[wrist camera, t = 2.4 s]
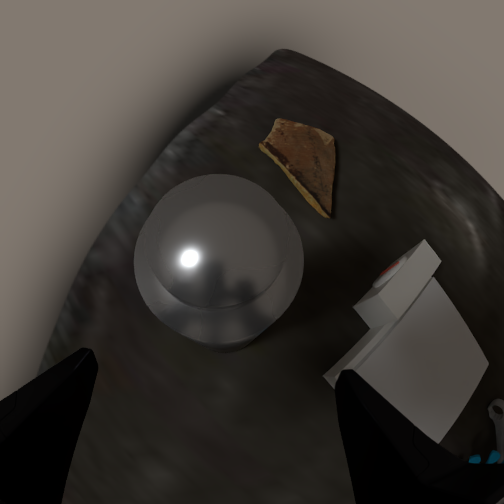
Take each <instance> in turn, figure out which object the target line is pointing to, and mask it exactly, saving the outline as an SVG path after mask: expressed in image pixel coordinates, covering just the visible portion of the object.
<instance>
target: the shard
mask: <svg viewBox="0 0 504 504" xmlns="http://www.w3.org/2000/svg"><path fill="white" fill-rule="evenodd" d="M259 147H260V149H261V150H262V152H264V153H266V154H267V155H268V156H269V157H271V158H272V159H273V160H274V162H275V163H276V164H278V165H279V166H280V167H281V169H282V170H283V171H284V172H285V173H286V175H287V176H288V178H289V179H290V181H291V182H292V183H293V184H294V185H295V187H297V189H298V190H299V192H300V193H301V194H302V195H303V196H304V198H305V199H306V200H307V201H308V202H309V203H310V204H311V205H312V206H313V207H314V208H315V209H316V210H317V211H318V212H319V213H320V214H321V215H322V216H324V217H326V218H327V217H328V218H331V204H332V195H331V193H332V184H333V180H334V167H335V147H334V138H333V137H332V136H331V135H329V134H327V133H325V132H323V131H322V130H320V129H318V128H314V127H311V126H308V125H304V124H300V123H296V122H292V121H289V120H285V119H281V118H280V119H276V121H275V123H274V126H273V129H272V131H271V133H270V134H269V136H268V137H267V138H266V140H264V141H262V142H261V143H260V144H259Z"/></svg>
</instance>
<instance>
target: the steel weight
mask: <svg viewBox="0 0 504 504" xmlns="http://www.w3.org/2000/svg"><path fill="white" fill-rule="evenodd" d="M303 267H304V253H303V247H302V242H301V239H300V236H299V233H298V231H297V229H296V227H295V225H294V223H293V221H292V220H291V218H290V217H289V215H288V214H287V213H286V212H285V210H284V209H283V208H282V207H281V206H280V205H279V204H278V203H277V202H276V200H275V199H274V198H273V197H272V196H271V195H270V194H269V193H268V192H267V191H266V190H264V189H263V188H262V187H260V186H259V185H257V184H255V183H253V182H251V181H249V180H247V179H244V178H241V177H237V176H232V175H225V174H210V175H204V176H199V177H195V178H192V179H190V180H187V181H185V182H183V183H181V184H179V185H177V186H176V187H174V188H173V189H171V190H170V191H169V192H168V193H167V194H165V195H164V196H163V198H162V199H161V200H160V201H159V202H158V203H157V205H156V206H155V208H154V209H153V211H152V213H151V215H150V216H149V218H148V219H147V221H146V222H145V224H144V226H143V228H142V230H141V232H140V234H139V237H138V240H137V243H136V248H135V254H134V271H135V277H136V282H137V285H138V288H139V291H140V293H141V295H142V297H143V299H144V301H145V303H146V304H147V306H148V307H149V308H150V310H151V311H152V312H153V313H154V314H155V315H156V316H157V317H158V318H159V319H160V320H161V321H162V322H163V323H165V324H166V325H167V326H168V327H170V328H172V329H173V330H175V331H177V332H178V333H180V334H182V335H184V336H185V337H187V338H189V339H191V340H193V341H194V342H196V343H198V344H200V345H202V346H204V347H206V348H207V349H209V350H212V351H214V352H218V353H231V352H235V351H238V350H240V349H242V348H244V347H245V346H246V345H248V344H249V343H250V342H251V341H252V340H254V339H255V338H256V337H257V336H258V335H259V334H261V333H262V332H263V331H264V330H265V329H266V328H268V327H269V326H270V325H271V324H272V323H273V322H275V321H276V320H277V319H278V318H279V317H280V316H281V315H282V314H283V313H284V312H285V310H286V309H287V308H288V307H289V306H290V304H291V302H292V301H293V299H294V297H295V296H296V293H297V291H298V289H299V286H300V283H301V279H302V275H303Z"/></svg>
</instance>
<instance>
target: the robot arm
mask: <svg viewBox="0 0 504 504" xmlns="http://www.w3.org/2000/svg"><path fill="white" fill-rule="evenodd" d="M97 372H98V363H97V361H96V358H95V355H94V352H93V351H92V350H91V349H88V348H84V347H83V348H80V349H79V350H77V351H76V352H74V353H73V354H71V355H70V356H68V357H67V358H65V359H63V360H62V361H60V362H59V363H57V364H56V365H54V366H53V367H51V368H50V369H48V370H47V371H45V372H44V373H42V374H41V375H39V376H38V377H36V378H35V379H33V380H32V381H30V382H29V383H27V384H26V385H24V386H23V387H21V388H20V389H18V390H17V391H15V392H13V393H12V394H11V395H9V396H7V397H6V398H4V399H3V400H1V401H0V504H61V503H62V498H63V493H64V488H65V484H66V480H67V476H68V472H69V468H70V464H71V461H72V457H73V454H74V450H75V447H76V443H77V440H78V437H79V434H80V431H81V428H82V424H83V421H84V419H85V416H86V413H87V410H88V407H89V404H90V400H91V396H92V392H93V388H94V384H95V380H96V376H97ZM335 396H336V405H337V413H338V422H339V427H340V432H341V436H342V440H343V445H344V449H345V454H346V458H347V463H348V467H349V472H350V477H351V481H352V486H353V491H354V496H355V501H356V504H504V463H498V464H485V463H470V462H466V461H464V460H462V459H460V458H458V457H457V456H455V455H454V454H452V453H451V452H449V451H448V450H446V449H445V448H444V447H442V446H441V445H439V444H438V443H436V442H435V441H434V440H432V439H431V438H430V437H429V436H427V435H426V434H425V433H424V432H422V431H421V430H420V429H419V428H418V427H417V426H414V424H413V423H412V422H411V421H410V420H409V419H408V418H406V417H405V416H404V415H403V414H402V413H401V412H400V411H399V410H397V409H396V408H395V407H394V406H393V405H392V404H391V403H390V402H389V401H387V400H386V399H385V398H384V397H383V396H382V395H381V394H380V393H379V392H377V391H376V390H375V389H374V388H373V387H372V386H371V385H370V384H369V383H368V382H366V381H365V380H364V379H363V378H362V377H361V376H360V375H359V374H358V373H357V372H355V371H354V370H353V369H344V370H342V371H341V372H340V374H339V377H338V379H337V381H336V383H335Z"/></svg>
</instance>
